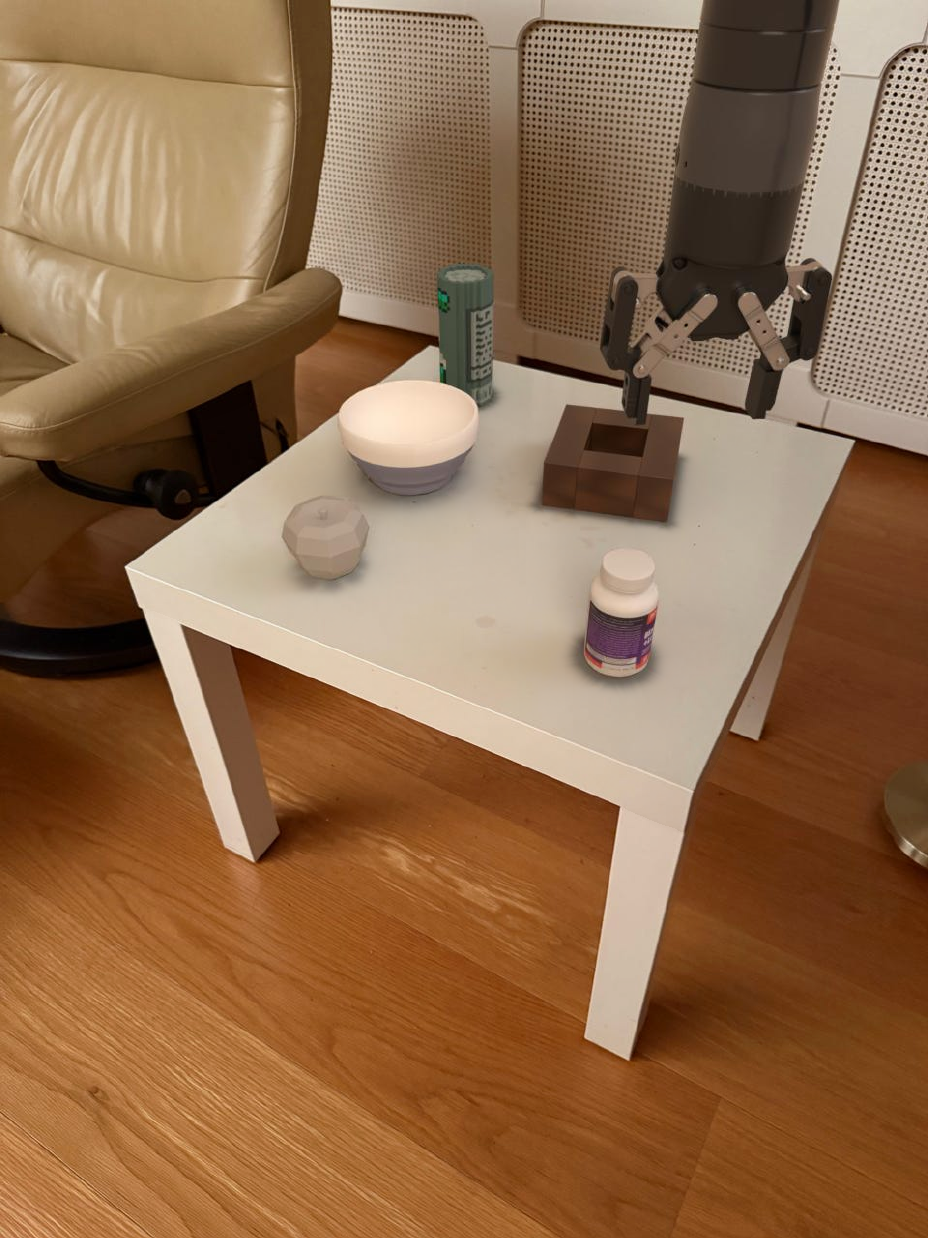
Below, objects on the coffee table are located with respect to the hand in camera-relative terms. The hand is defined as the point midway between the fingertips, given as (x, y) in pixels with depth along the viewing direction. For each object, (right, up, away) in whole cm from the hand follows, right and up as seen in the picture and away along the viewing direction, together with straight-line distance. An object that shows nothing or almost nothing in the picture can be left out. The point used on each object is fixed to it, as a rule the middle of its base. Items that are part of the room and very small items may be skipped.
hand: (695, 417), depth 62 cm
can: (-16, +13, +46) cm, 51 cm away
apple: (-29, -10, +20) cm, 37 cm away
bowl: (-22, +1, +32) cm, 39 cm away
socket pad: (-1, 0, +31) cm, 31 cm away
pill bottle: (-4, -18, +11) cm, 21 cm away
